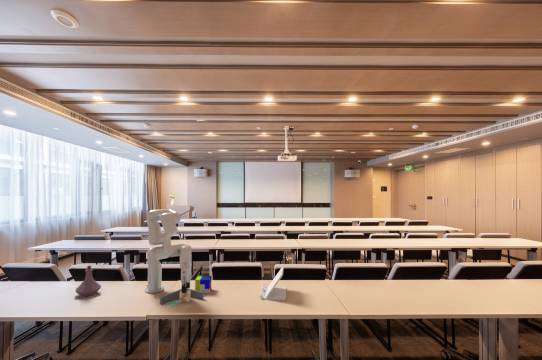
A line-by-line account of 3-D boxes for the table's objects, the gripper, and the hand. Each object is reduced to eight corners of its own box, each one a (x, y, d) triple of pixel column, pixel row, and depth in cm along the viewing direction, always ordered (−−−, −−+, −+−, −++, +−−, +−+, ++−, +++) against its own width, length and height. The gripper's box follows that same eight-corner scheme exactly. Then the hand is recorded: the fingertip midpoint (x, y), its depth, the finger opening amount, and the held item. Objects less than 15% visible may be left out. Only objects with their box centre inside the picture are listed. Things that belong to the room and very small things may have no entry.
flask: (79, 300, 191) (80, 270, 192) (70, 295, 201) (71, 266, 202) (105, 293, 204) (106, 265, 205) (96, 289, 214) (96, 262, 215)
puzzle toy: (209, 293, 204) (209, 279, 204) (195, 294, 203) (195, 279, 204) (211, 289, 214) (211, 275, 214) (197, 289, 213) (198, 275, 214)
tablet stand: (286, 288, 216) (286, 265, 217) (285, 300, 191) (285, 274, 192) (262, 287, 217) (262, 265, 218) (259, 299, 193) (259, 274, 193)
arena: (159, 304, 183) (160, 296, 184) (185, 294, 201) (185, 287, 202) (179, 310, 174) (179, 302, 174) (203, 299, 192) (203, 292, 192)
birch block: (179, 302, 185) (179, 293, 186) (181, 299, 191) (181, 290, 192) (188, 302, 186) (188, 293, 186) (190, 299, 192) (190, 290, 192)
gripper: (188, 267, 181) (188, 294, 180) (194, 261, 198) (194, 286, 197) (176, 267, 181) (176, 295, 180) (183, 261, 198) (183, 286, 197)
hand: (185, 290), depth 188 cm, fingers open, 9 cm apart
